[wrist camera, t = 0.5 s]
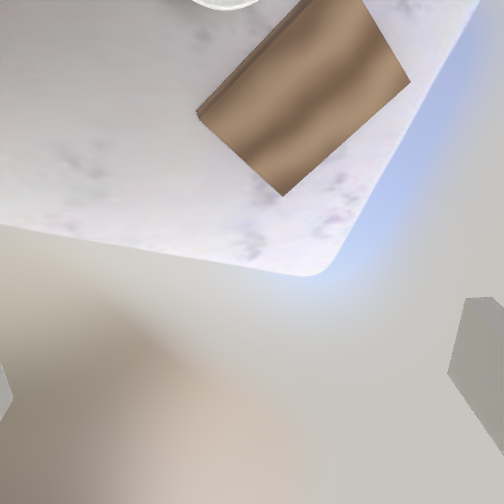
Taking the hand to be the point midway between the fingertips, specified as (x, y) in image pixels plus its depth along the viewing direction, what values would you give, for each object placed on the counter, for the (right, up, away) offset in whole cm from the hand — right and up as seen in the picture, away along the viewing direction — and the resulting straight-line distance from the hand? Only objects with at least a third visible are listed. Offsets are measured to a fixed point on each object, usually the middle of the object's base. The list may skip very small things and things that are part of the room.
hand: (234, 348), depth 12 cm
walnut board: (+5, +18, +28) cm, 33 cm away
